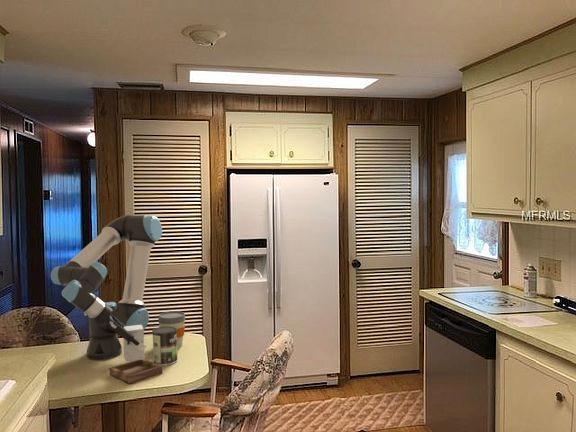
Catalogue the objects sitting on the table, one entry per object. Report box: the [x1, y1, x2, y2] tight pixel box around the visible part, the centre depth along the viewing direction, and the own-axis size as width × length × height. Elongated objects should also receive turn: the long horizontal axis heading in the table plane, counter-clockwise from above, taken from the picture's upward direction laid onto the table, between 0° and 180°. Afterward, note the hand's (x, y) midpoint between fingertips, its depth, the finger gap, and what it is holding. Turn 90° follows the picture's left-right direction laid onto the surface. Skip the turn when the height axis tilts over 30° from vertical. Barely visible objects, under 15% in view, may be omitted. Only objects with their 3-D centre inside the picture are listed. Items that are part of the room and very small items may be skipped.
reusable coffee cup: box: [157, 310, 186, 349], centre depth 234 cm, size 12×12×15 cm
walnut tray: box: [108, 358, 163, 386], centre depth 201 cm, size 15×15×3 cm
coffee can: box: [151, 326, 179, 367], centre depth 214 cm, size 10×10×14 cm
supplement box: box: [122, 325, 145, 363], centre depth 199 cm, size 7×7×13 cm
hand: (142, 345), depth 201 cm, fingers closed on supplement box, 7 cm apart
